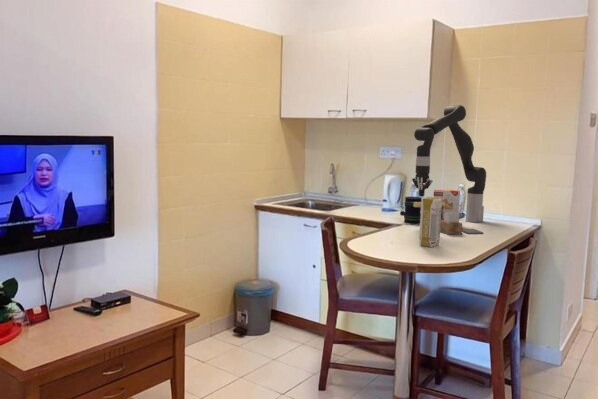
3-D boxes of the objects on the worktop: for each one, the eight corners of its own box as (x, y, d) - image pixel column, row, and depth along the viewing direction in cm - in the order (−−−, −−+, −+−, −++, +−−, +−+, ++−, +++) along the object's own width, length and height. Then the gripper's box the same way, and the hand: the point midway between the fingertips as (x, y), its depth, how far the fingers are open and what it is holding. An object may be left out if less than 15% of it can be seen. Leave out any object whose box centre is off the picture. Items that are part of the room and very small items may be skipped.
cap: (454, 221, 284) (454, 212, 283) (458, 222, 279) (459, 213, 279) (444, 221, 283) (444, 212, 282) (448, 223, 278) (448, 213, 277)
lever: (442, 217, 295) (443, 201, 294) (445, 218, 292) (446, 202, 291) (412, 217, 292) (413, 201, 291) (414, 218, 289) (415, 202, 288)
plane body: (444, 227, 298) (445, 216, 297) (462, 234, 278) (463, 223, 277) (430, 227, 296) (431, 217, 296) (447, 235, 276) (448, 223, 276)
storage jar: (419, 221, 317) (420, 196, 315) (421, 224, 307) (423, 198, 305) (402, 220, 318) (404, 196, 316) (404, 223, 308) (405, 198, 306)
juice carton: (425, 242, 257) (428, 194, 254) (441, 245, 252) (443, 195, 249) (417, 245, 250) (419, 195, 246) (432, 248, 245) (435, 197, 242)
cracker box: (431, 224, 306) (433, 189, 304) (433, 222, 312) (435, 188, 309) (455, 227, 300) (458, 190, 297) (458, 225, 305) (460, 189, 302)
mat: (473, 230, 291) (473, 228, 291) (483, 233, 281) (483, 232, 281) (458, 230, 289) (459, 229, 289) (468, 234, 280) (468, 232, 279)
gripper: (437, 165, 281) (435, 197, 284) (418, 163, 292) (416, 194, 294) (427, 165, 277) (426, 198, 279) (408, 164, 287) (407, 195, 290)
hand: (421, 196), depth 287 cm, fingers closed
